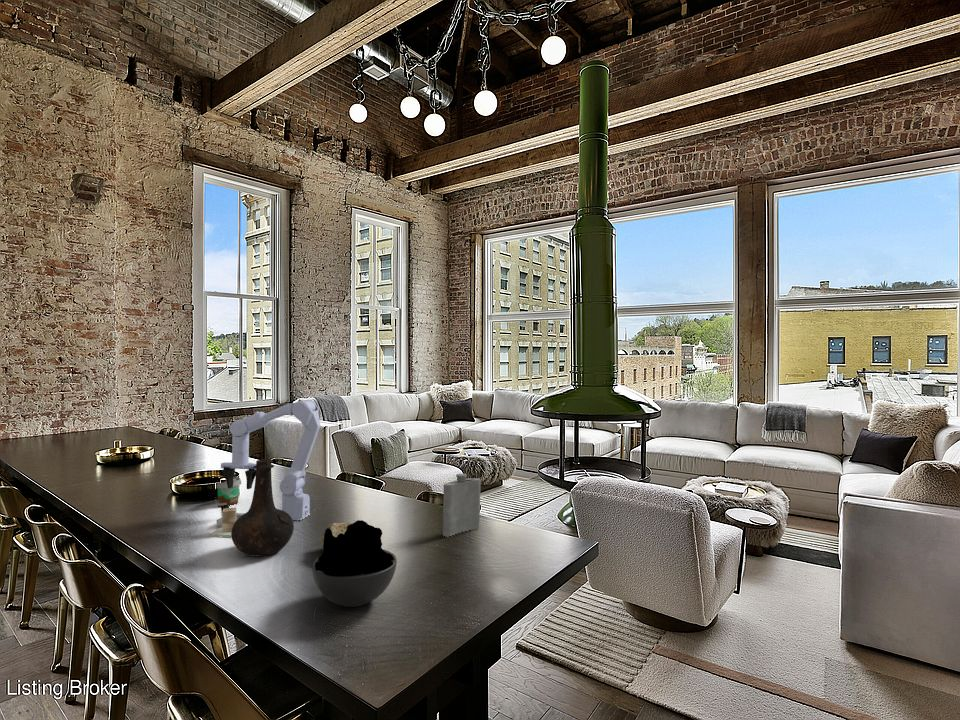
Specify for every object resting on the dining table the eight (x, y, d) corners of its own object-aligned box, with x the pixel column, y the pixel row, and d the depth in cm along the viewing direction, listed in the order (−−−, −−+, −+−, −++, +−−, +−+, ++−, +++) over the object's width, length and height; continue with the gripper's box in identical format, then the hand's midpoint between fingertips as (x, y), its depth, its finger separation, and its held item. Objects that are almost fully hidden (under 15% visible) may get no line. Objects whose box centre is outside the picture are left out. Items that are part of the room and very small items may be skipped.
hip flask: (446, 537, 172) (447, 478, 173) (439, 534, 175) (440, 476, 176) (481, 528, 183) (482, 472, 183) (473, 525, 186) (474, 470, 186)
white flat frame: (267, 521, 186) (267, 514, 186) (253, 529, 178) (254, 522, 178) (231, 519, 188) (232, 512, 188) (216, 527, 179) (216, 519, 179)
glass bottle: (271, 564, 147) (273, 467, 147) (216, 559, 151) (219, 463, 151) (304, 543, 164) (306, 456, 165) (255, 539, 168) (256, 453, 168)
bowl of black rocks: (400, 584, 135) (401, 513, 135) (389, 623, 115) (391, 539, 115) (324, 584, 134) (325, 512, 135) (299, 623, 114) (301, 538, 115)
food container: (231, 508, 202) (232, 483, 202) (216, 508, 202) (216, 483, 202) (246, 500, 214) (247, 476, 214) (232, 500, 214) (232, 476, 214)
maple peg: (236, 527, 176) (236, 507, 176) (235, 531, 173) (235, 510, 173) (223, 529, 175) (223, 508, 175) (222, 532, 171) (222, 511, 171)
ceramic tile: (248, 530, 177) (248, 527, 177) (234, 537, 169) (234, 535, 169) (223, 528, 178) (223, 526, 178) (209, 536, 170) (209, 533, 170)
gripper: (264, 450, 196) (263, 486, 196) (229, 449, 198) (228, 484, 198) (254, 454, 189) (253, 491, 189) (217, 452, 191) (216, 489, 191)
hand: (239, 488), depth 193 cm, fingers open, 7 cm apart
